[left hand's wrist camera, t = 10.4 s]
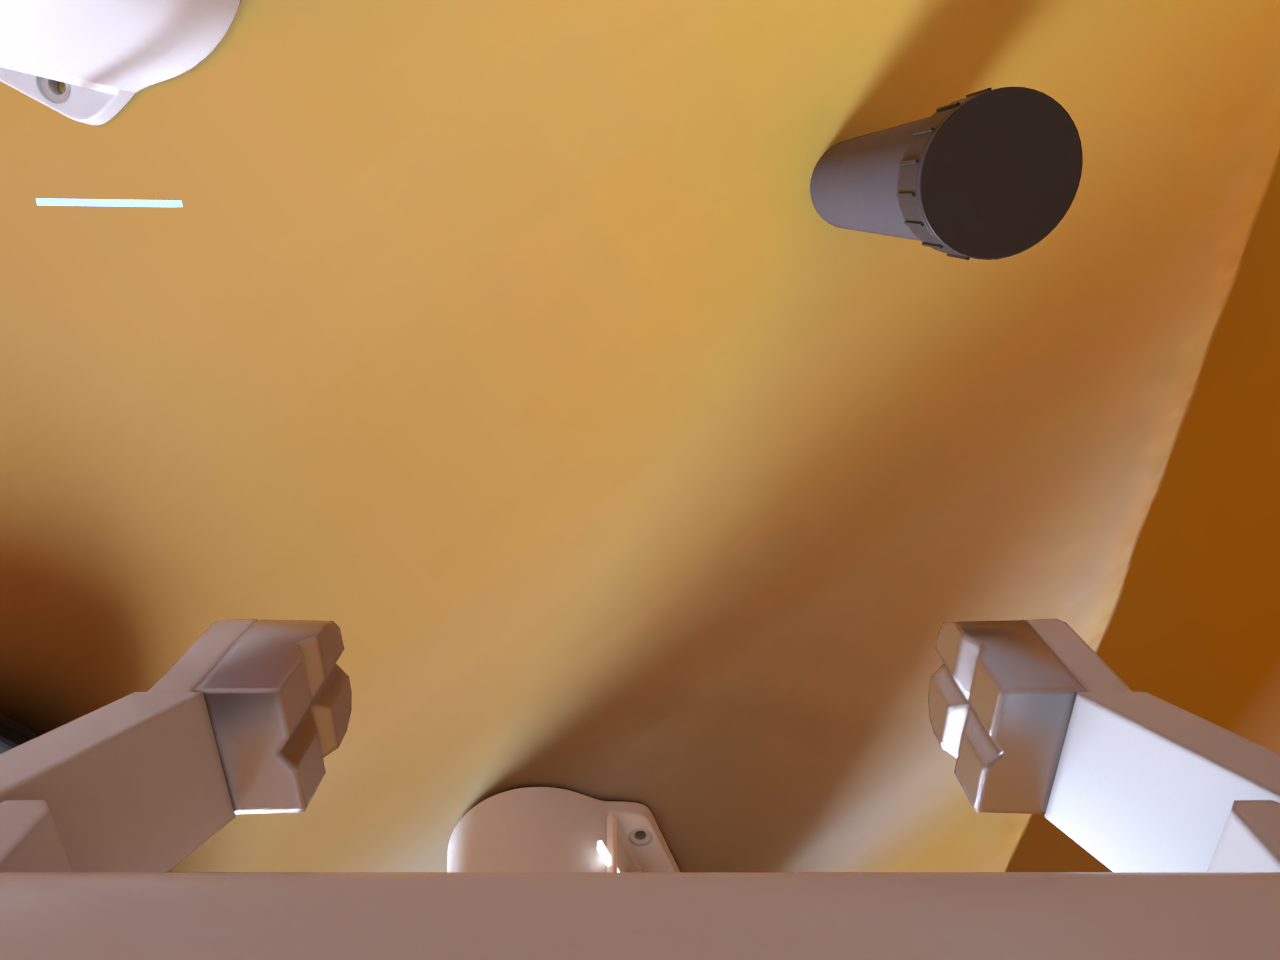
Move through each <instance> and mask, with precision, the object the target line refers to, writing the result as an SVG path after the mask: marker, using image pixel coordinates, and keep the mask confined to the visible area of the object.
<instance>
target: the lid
mask: <svg viewBox="0 0 1280 960" xmlns="http://www.w3.org/2000/svg"><path fill="white" fill-rule="evenodd" d="M936 110H937V112H936V113H935V114H933V115H932V116H931V117H930V118H929V119H928V120H926V121H925V122H924V124H923V125H922V126H921V127H920V128H919V129H918V130H917V131H914V133H913V135H914V136H913V138H912V139H911V141H910V143H909V144H908V146H907V148H906V150H905V153H904V155H903V158H902V161H900V162H899V165H900V168H899V174H898V184H897V191H898V193H896V197H898V201H899V205H900V209H901V212H902V215H903V218H904V220H905V222H904V224H905V225H908V227H909V228H910V229H911V231H912V232H913V233H914V235H915V236H916V237H917V238H918V239H920V240H921V241H922V242H923V243H922V245H923V246H928V247H931V248H933V249H935V250H938V251H941V252H944V253H947V256H951V257H956V258H961V259H966V260H969V258H975V259H985V260H991V259H996V260H997V259H1001V258H1005V257H1010V256H1013V255H1015V254H1018V253H1021V252H1023V251H1025V250H1027V249H1029V248H1031V247H1032V246H1034V245H1035V244H1037V243H1038V242H1040V241H1041V240H1042V239H1043V238H1045V237H1046V236H1047V235H1048V234H1049V233H1050V232H1051V231H1052V230H1053V229H1054V228H1055V227H1056V226H1057V225H1058V223H1059V222H1060V221H1061V220H1062V218H1063V217H1064V215H1065V214H1066V212H1067V211H1068V209H1069V208H1070V206H1071V203H1072V201H1073V199H1074V197H1075V195H1076V192H1077V189H1078V186H1079V182H1080V178H1081V172H1082V147H1081V141H1080V137H1079V134H1078V131H1077V128H1076V126H1075V124H1074V122H1073V120H1072V119H1071V117H1070V116H1069V114H1068V113H1067V111H1066V110H1065V109H1064V108H1063V107H1062V106H1061V105H1060V104H1059V103H1058V102H1057V101H1055V100H1054V99H1053V98H1051V97H1049V96H1048V95H1046V94H1044V93H1042V92H1039V91H1037V90H1034V89H1029V88H1024V87H1004V88H998V89H994V90H991V88H988V89H984V90H981V91H978V92H975V93H972V94H968V95H966V98H964V99H961V100H958V101H956V102H953V103H951V104H949V105H946V106H943V107H939V108H938V109H936Z"/></svg>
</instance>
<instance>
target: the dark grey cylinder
mask: <svg viewBox="0 0 1280 960" xmlns="http://www.w3.org/2000/svg"><path fill="white" fill-rule="evenodd" d="M929 118H930V117H928V118H925V119H921V120H918V121H914V122H910V123H907V124H903V125H900V126H896V127H892V128H889V129H885V130H882V131H878V132H874V133H871V134H867V135H864V136H860V137H856V138H853V139H849V140H846V141H843V142H840V143H838V144H836V145H834V146H833V147H831V148H830V149H829V150H828V151H826V152H825V153H824V155H823V156H822V157H821V158H820V160H819V161H818V163H817V164H816V166H815V168H814V171H813V174H812V178H811V185H810V192H811V198H812V202H813V205H814V207H815V209H816V211H817V212H818V214H819V215H820V216H821V217H822V218H823V219H824V220H825V221H826V222H828V223H829V224H831V225H833V226H836V227H839V228H844V229H851V230H857V231H863V232H869V233H875V234H882V235H888V236H894V237H900V238H906V239H913V240H919V241H921V240H920V239H918V238H917V237H916V236H915V235H914V233H913V232H912V231H911V229H910V228H909V227H908V225H905V224H904V222H905V220H904V218H903V215H902V212H901V209H900V205H899V201H898V197H896V193H898V191H897V184H898V174H899V168H900V165H899V162H900V161H902V158H903V155H904V153H905V150H906V148H907V146H908V144H909V143H910V141H911V139H912V138H913V136H914V135H913V133H914V131H917V130H918V129H919V128H920V127H921V126H922V125H923V124H924V122H925V121H926V120H928V119H929Z"/></svg>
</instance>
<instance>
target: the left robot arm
mask: <svg viewBox="0 0 1280 960" xmlns="http://www.w3.org/2000/svg"><path fill="white" fill-rule="evenodd" d="M343 650H344V645H343V640H342V636H341V631H340V627H339V626H338V625H337V624H336V623H335V622H334V621H307V620H257V619H230V620H221V621H216V622H214V623H213V624H212V625H211V626H210V627H209V628H208V629H207V630H206V631H205V633H204V634H203V635H202V636H201V637H200V638H199V639H198V640H197V641H196V642H195V643H194V644H193V645H192V646H191V647H190V648H189V649H188V650H187V651H186V652H185V653H184V654H183V655H182V656H181V657H180V659H179V660H178V661H177V662H176V663H175V664H174V665H173V666H172V667H171V668H170V669H169V670H168V671H167V672H166V673H165V674H164V675H163V676H162V677H161V678H160V679H159V680H158V681H157V682H156V683H155V685H154V686H153V687H152V688H151V689H150V690H149V691H148V692H134V693H132V694H129V695H127V696H125V697H123V698H121V699H119V700H116V701H114V702H112V703H110V704H108V705H106V706H103V707H101V708H99V709H97V710H95V711H93V712H90V713H88V714H86V715H84V716H82V717H80V718H77V719H75V720H73V721H71V722H69V723H67V724H64V725H62V726H60V727H58V728H56V729H54V730H51V731H49V732H47V733H45V734H43V735H41V736H38V737H36V738H34V739H32V740H30V741H28V742H25V743H23V744H21V745H19V746H17V747H15V748H12V749H10V750H8V751H6V752H4V753H2V754H0V960H1280V754H1278V753H1276V752H1274V751H1272V750H1269V749H1267V748H1265V747H1263V746H1261V745H1259V744H1256V743H1254V742H1252V741H1250V740H1248V739H1246V738H1243V737H1241V736H1239V735H1237V734H1235V733H1233V732H1231V731H1228V730H1226V729H1224V728H1222V727H1220V726H1218V725H1215V724H1213V723H1211V722H1209V721H1207V720H1205V719H1202V718H1200V717H1198V716H1196V715H1194V714H1192V713H1189V712H1187V711H1185V710H1183V709H1181V708H1179V707H1177V706H1174V705H1172V704H1170V703H1168V702H1166V701H1163V700H1161V699H1159V698H1157V697H1155V696H1153V695H1151V694H1148V693H1146V692H1132V691H1131V690H1130V689H1129V688H1128V687H1127V685H1126V684H1125V683H1124V682H1123V681H1122V680H1121V679H1120V678H1119V677H1118V676H1117V675H1116V674H1115V673H1114V672H1113V671H1112V670H1111V669H1110V668H1109V667H1108V666H1107V665H1106V664H1105V663H1104V662H1103V660H1102V659H1101V658H1100V657H1099V656H1098V655H1097V654H1096V653H1095V652H1094V651H1093V650H1092V649H1091V648H1090V647H1089V646H1088V645H1087V644H1086V643H1085V642H1084V641H1083V640H1082V639H1081V638H1080V636H1079V635H1078V634H1077V633H1076V632H1075V631H1074V630H1073V629H1072V628H1071V627H1070V626H1069V625H1068V624H1067V623H1066V622H1063V621H1061V620H1058V619H1038V620H1017V621H977V622H944V623H943V625H942V627H941V629H940V631H939V634H938V639H937V645H936V650H937V652H938V653H939V655H940V657H941V658H942V660H943V662H944V664H943V665H942V666H941V667H940V668H939V669H938V670H937V671H936V672H935V673H934V674H933V675H932V676H931V680H930V687H929V695H928V703H929V715H930V721H931V724H932V727H933V731H934V734H935V736H936V738H937V740H938V742H939V744H940V746H941V748H943V749H944V750H946V751H947V752H949V753H950V754H952V755H953V756H955V757H956V758H957V761H956V766H955V772H954V773H955V774H956V776H957V778H958V780H959V782H960V784H961V786H962V788H963V789H964V791H965V793H966V795H967V797H968V799H969V801H970V802H971V804H972V806H973V808H974V810H975V812H993V813H1029V814H1045V818H1046V819H1048V820H1049V821H1050V822H1051V823H1053V824H1054V825H1055V826H1056V827H1058V828H1059V829H1060V830H1061V831H1063V832H1064V833H1065V834H1066V835H1068V836H1069V837H1070V838H1071V839H1073V840H1074V841H1075V842H1076V843H1078V844H1079V845H1080V846H1081V847H1083V848H1084V849H1085V850H1086V851H1088V852H1089V853H1090V854H1091V855H1093V856H1094V857H1095V858H1096V859H1097V860H1099V861H1100V862H1101V863H1102V864H1104V865H1105V866H1106V867H1107V868H1109V869H1110V870H1111V871H1112V872H680V870H679V868H678V866H677V864H676V862H675V860H674V858H673V856H672V854H671V852H670V850H669V848H668V846H667V844H666V841H665V839H664V837H663V835H662V833H661V831H660V829H659V827H658V825H657V823H656V821H655V819H654V817H653V815H652V813H651V811H650V810H649V808H648V807H646V806H645V805H643V804H640V803H636V802H624V801H602V800H598V799H594V798H591V797H589V796H586V795H583V794H580V793H577V792H574V791H570V790H565V789H560V788H552V787H526V788H518V789H513V790H509V791H505V792H502V793H499V794H496V795H494V796H492V797H489V798H487V799H485V800H484V801H482V802H480V803H479V804H477V805H476V806H474V807H473V808H472V809H471V810H469V811H468V812H467V813H466V814H465V815H464V816H463V817H462V819H461V820H460V821H459V822H458V824H457V825H456V827H455V829H454V831H453V833H452V835H451V838H450V841H449V845H448V853H447V872H168V871H169V870H170V869H172V868H173V867H174V866H175V865H177V864H178V863H179V862H180V861H182V860H183V859H184V858H185V857H187V856H188V855H189V854H190V853H192V852H193V851H194V850H195V849H197V848H198V847H199V846H200V845H201V844H203V843H204V842H205V841H206V840H208V839H209V838H210V837H211V836H213V835H214V834H215V833H216V832H218V831H219V830H220V829H221V828H223V827H224V826H225V825H226V824H228V823H229V822H230V821H231V820H233V819H234V818H235V814H250V813H286V812H305V810H306V808H307V806H308V805H309V803H310V801H311V799H312V797H313V795H314V793H315V791H316V790H317V788H318V786H319V784H320V782H321V780H322V778H323V776H324V774H325V773H326V772H325V766H324V761H323V758H324V757H325V756H327V755H328V754H330V753H331V752H333V751H334V750H336V749H337V748H339V746H340V744H341V742H342V740H343V738H344V736H345V734H346V732H347V728H348V723H349V719H350V714H351V701H352V692H351V686H350V679H349V676H348V675H347V674H346V673H345V672H344V671H343V670H342V669H341V668H340V667H339V666H338V665H337V664H336V662H337V660H338V658H339V657H340V655H341V654H342V652H343ZM638 831H643V832H638Z"/></svg>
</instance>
